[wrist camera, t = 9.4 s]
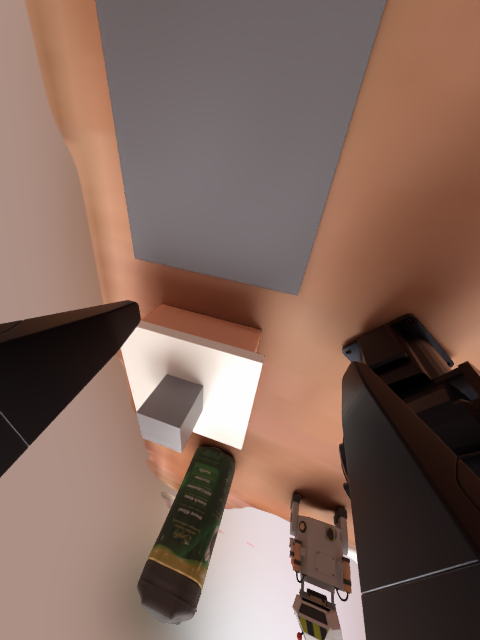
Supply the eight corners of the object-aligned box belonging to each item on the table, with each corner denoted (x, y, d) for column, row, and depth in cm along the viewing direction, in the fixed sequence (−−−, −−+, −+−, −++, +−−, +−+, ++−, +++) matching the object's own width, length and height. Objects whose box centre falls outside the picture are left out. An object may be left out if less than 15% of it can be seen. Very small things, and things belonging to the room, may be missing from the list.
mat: (430, -148, 9) (435, -162, 8) (297, 293, 19) (297, 295, 19) (84, -108, 11) (77, -117, 11) (137, 257, 22) (134, 258, 22)
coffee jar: (195, 438, 39) (120, 599, 23) (236, 452, 37) (185, 635, 22) (198, 464, 44) (139, 610, 28) (235, 477, 42) (192, 639, 27)
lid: (264, 355, 18) (249, 411, 13) (243, 441, 25) (229, 495, 21) (121, 315, 20) (67, 350, 16) (141, 404, 28) (108, 446, 23)
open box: (261, 330, 23) (251, 360, 18) (246, 399, 29) (236, 434, 25) (162, 304, 25) (132, 326, 20) (168, 374, 31) (147, 402, 27)
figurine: (287, 511, 43) (278, 638, 31) (294, 486, 37) (286, 630, 25) (334, 527, 41) (345, 671, 29) (349, 504, 35) (371, 671, 23)
